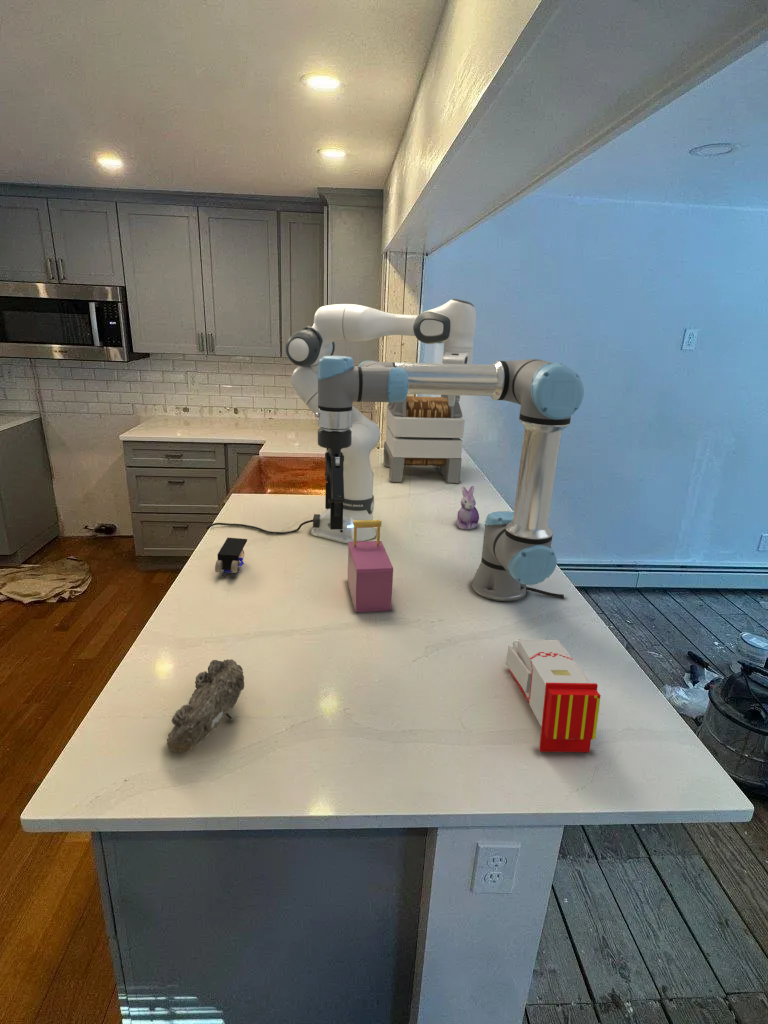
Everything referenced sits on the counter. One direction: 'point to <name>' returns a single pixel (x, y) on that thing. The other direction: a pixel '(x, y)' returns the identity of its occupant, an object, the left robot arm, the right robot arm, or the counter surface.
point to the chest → (369, 589)
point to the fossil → (206, 705)
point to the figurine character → (230, 556)
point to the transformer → (424, 436)
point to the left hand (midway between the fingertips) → (454, 403)
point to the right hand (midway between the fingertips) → (333, 518)
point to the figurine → (468, 510)
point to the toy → (556, 694)
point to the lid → (369, 550)
